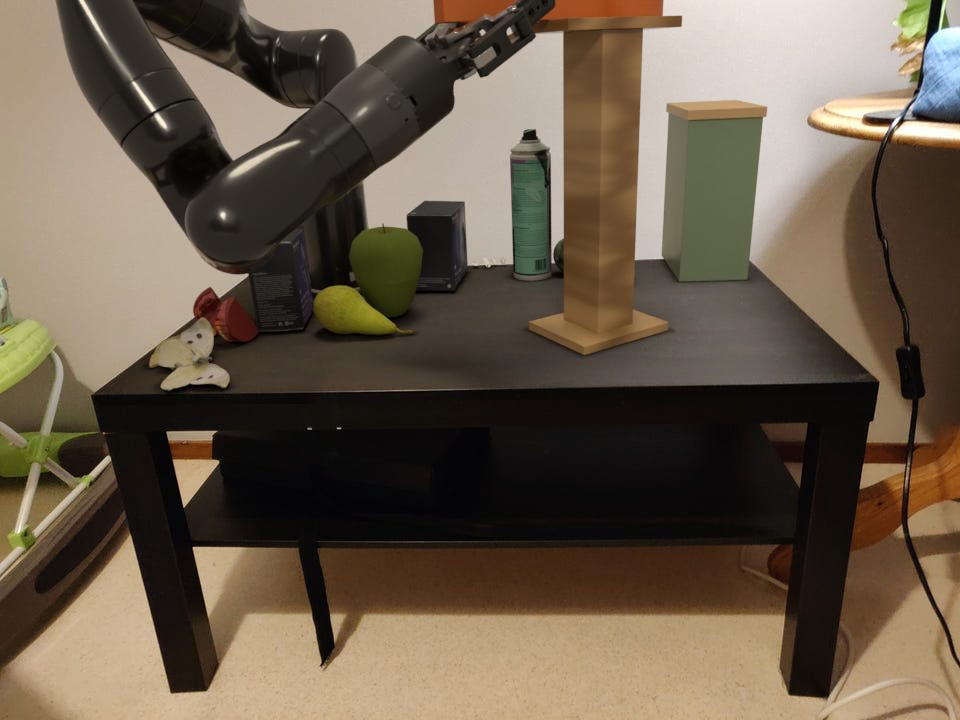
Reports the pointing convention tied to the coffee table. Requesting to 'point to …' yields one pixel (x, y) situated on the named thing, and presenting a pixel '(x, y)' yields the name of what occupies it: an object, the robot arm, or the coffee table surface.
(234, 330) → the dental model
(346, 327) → the fruit
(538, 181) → the spray can
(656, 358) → the coffee table surface
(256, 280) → the box
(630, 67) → the stand
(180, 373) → the butterfly
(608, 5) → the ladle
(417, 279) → the apple
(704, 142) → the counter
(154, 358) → the pale yellow butterfly wing
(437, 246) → the small box
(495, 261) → the miniature set
